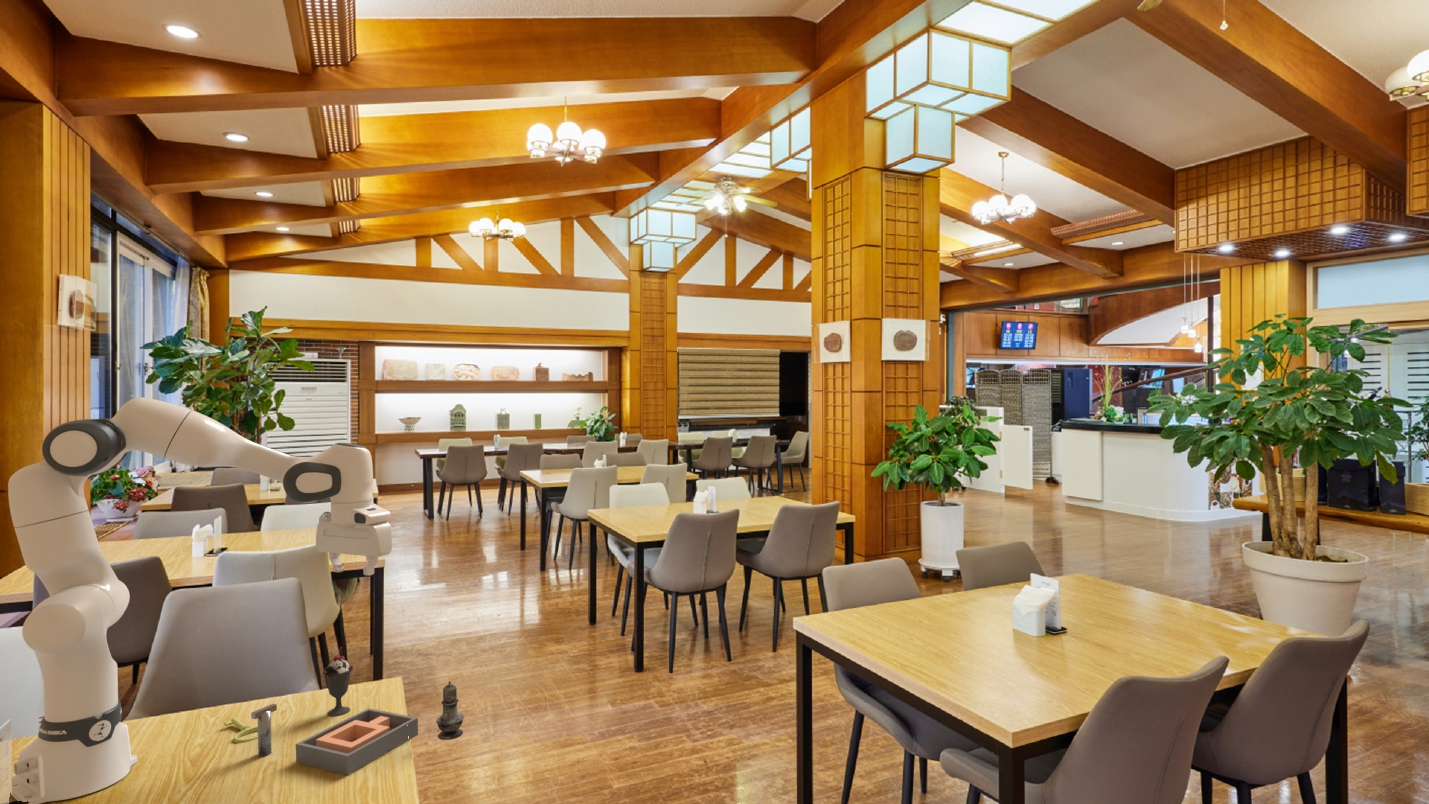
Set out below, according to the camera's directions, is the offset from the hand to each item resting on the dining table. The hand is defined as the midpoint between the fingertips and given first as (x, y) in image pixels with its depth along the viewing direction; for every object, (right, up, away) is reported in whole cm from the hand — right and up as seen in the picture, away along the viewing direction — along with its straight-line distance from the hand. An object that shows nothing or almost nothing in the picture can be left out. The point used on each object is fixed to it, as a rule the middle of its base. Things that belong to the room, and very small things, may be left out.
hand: (353, 573), depth 168 cm
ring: (+7, -34, -11) cm, 36 cm away
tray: (+7, -35, -11) cm, 37 cm away
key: (-23, -36, -3) cm, 43 cm away
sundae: (-7, -35, +8) cm, 37 cm away
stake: (-13, -35, -13) cm, 40 cm away
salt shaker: (+24, -35, -5) cm, 43 cm away
